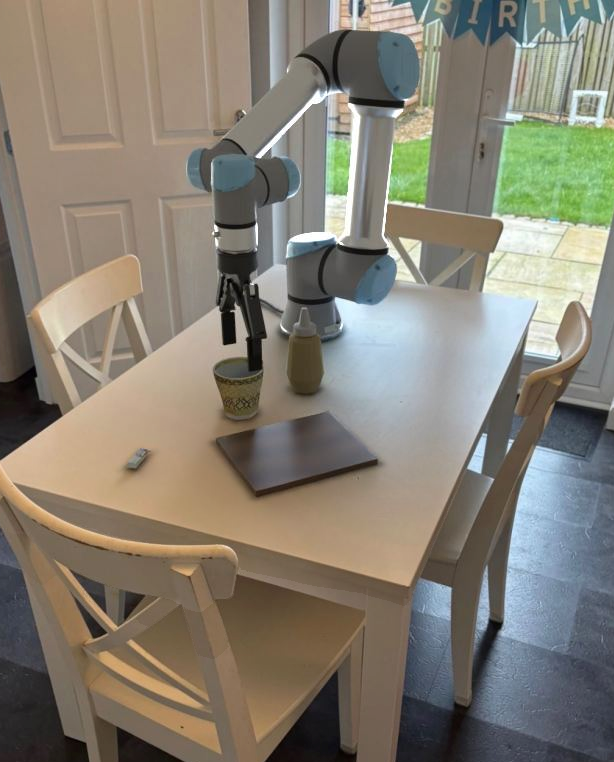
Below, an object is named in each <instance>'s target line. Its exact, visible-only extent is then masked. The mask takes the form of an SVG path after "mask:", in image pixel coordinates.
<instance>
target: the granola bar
mask: <svg viewBox="0 0 614 762" xmlns="http://www.w3.org/2000/svg"><path fill="white" fill-rule="evenodd" d="M151 452H152V449H145V448H139V449H138V450H137V451H136V452H135V454H133V456H132V457H131V458H130V459H129V460H128V461H127V462H126V464H125V465H124V466H123V467H124V468H127V469H137V468H138V467H139V465H140V464H141V463H142V462H143V461H144V459H146V457H147V456H148V455H149V453H151Z"/></svg>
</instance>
